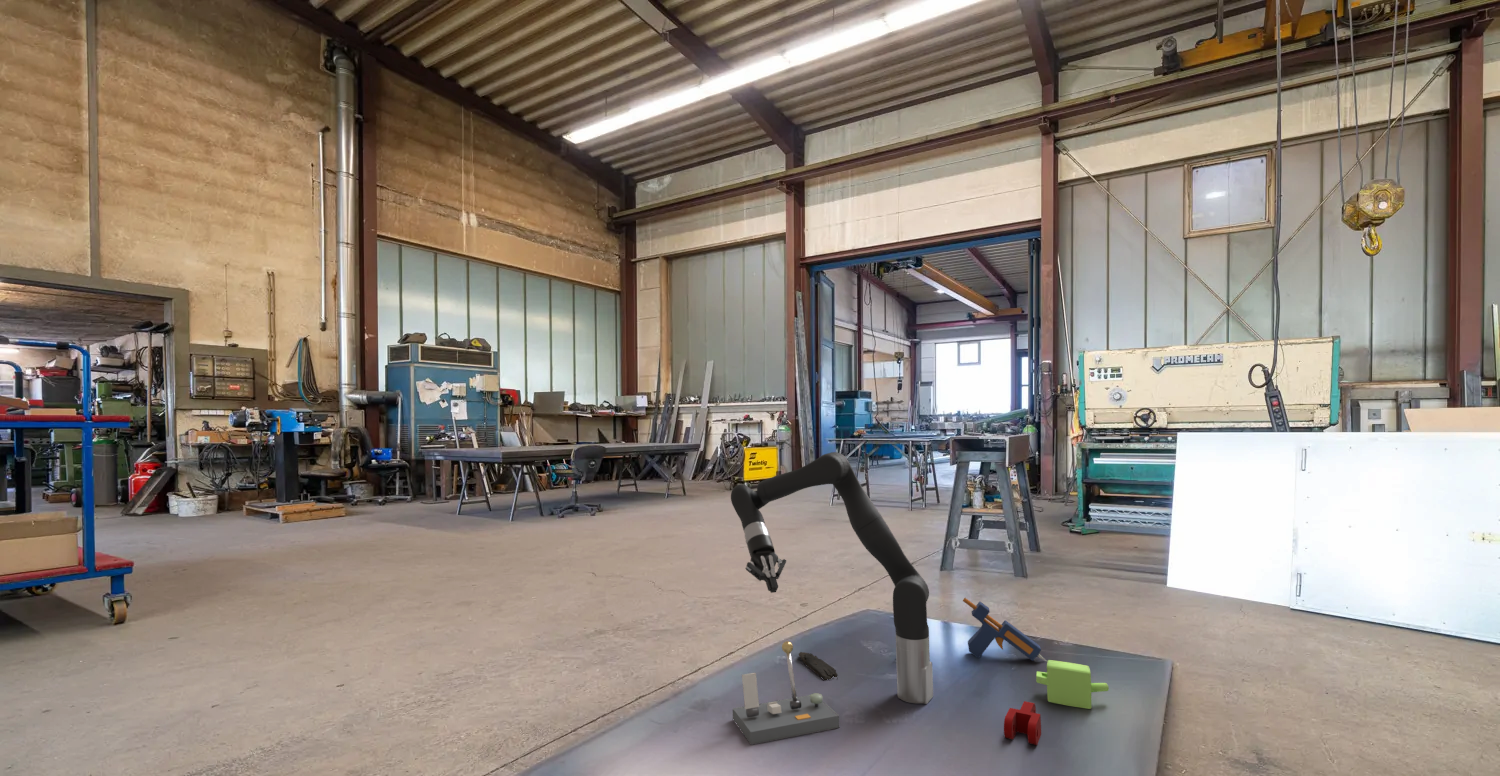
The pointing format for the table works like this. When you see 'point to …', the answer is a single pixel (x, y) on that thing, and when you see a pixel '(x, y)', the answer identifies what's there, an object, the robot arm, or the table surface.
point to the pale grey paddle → (750, 694)
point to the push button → (816, 699)
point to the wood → (818, 665)
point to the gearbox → (1069, 684)
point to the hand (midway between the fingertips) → (774, 591)
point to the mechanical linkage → (1023, 722)
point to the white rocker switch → (774, 707)
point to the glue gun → (998, 634)
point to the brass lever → (791, 675)
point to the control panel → (785, 720)
